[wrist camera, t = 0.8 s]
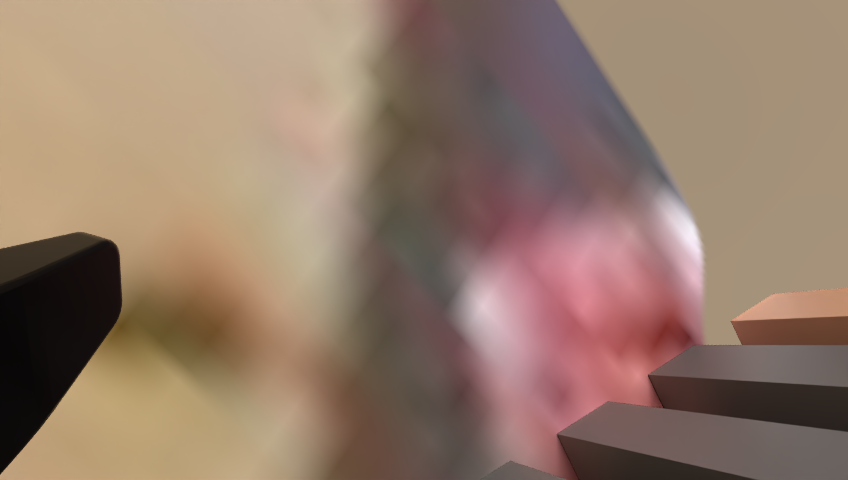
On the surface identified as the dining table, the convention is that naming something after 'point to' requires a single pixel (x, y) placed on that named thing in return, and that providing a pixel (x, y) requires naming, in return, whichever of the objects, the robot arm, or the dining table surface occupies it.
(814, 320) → the tile
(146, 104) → the dining table surface
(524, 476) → the tile
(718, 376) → the tile
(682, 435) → the tile
